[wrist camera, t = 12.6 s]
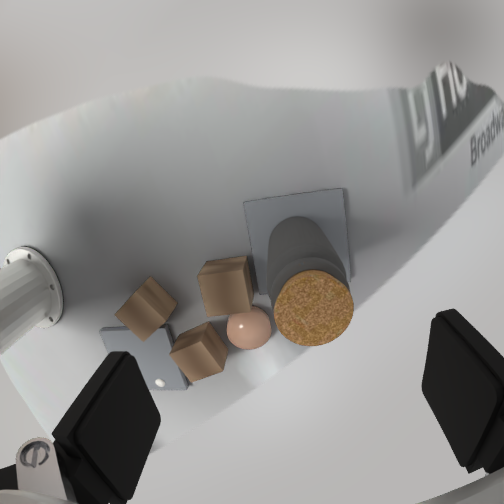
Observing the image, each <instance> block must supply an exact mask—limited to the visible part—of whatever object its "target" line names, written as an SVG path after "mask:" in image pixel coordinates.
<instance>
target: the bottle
mask: <svg viewBox="0 0 504 504" xmlns="http://www.w3.org/2000/svg"><path fill="white" fill-rule="evenodd" d="M266 284H267V291H268V294H269V297H270V299H271V306H272V309H273V312H274V319H275V323H276V325H277V327H278V329H279V331H280V332H281V333H282V334H283V335H284V336H285V337H286V338H287V339H289V340H290V341H292V342H294V343H296V344H299V345H304V346H318V345H323V344H326V343H328V342H331V341H333V340H334V339H335V338H337V337H339V336H340V335H341V334H342V333H343V332H344V331H345V329H346V328H347V327H348V325H349V323H350V321H351V319H352V316H353V300H352V296H351V294H350V290H349V285H348V282H347V278H346V271H345V268H344V265H343V263H342V261H341V259H340V257H339V256H338V254H337V252H336V251H335V249H334V248H333V246H332V245H331V243H330V241H329V240H328V238H327V237H326V235H325V234H324V232H323V231H322V229H321V228H320V227H319V226H318V225H317V224H316V223H315V222H314V221H312V220H310V219H308V218H305V217H297V216H296V217H290V218H287V219H285V220H283V221H281V222H280V223H279V224H278V225H277V226H276V227H275V228H274V229H273V231H272V233H271V235H270V239H269V245H268V258H267V275H266Z"/></svg>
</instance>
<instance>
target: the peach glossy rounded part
mask: <svg viewBox="0 0 504 504" xmlns="http://www.w3.org/2000/svg"><path fill="white" fill-rule="evenodd" d="M227 336H228V338H229V340H230V342H231V343H232V344H234V345H235V346H237V347H239V348H242V349H256V348H259V347H261V346H262V345H264V344H265V343H266V342H267V341H268V340H269V338H270V336H271V325H270V320H269V317H268V315H267V314H266V312H265V311H263V310H262V309H260V308H258V307H255V306H252V308H251V312H247V313H238V314H230V316H229V318H228V321H227Z"/></svg>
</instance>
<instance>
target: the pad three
mask: <svg viewBox="0 0 504 504" xmlns="http://www.w3.org/2000/svg"><path fill="white" fill-rule="evenodd" d="M243 204H244V209H245V215H246V221H247V226H248V232H249V237H250V243H251V249H252V254H253V260H254V266H255V271H256V277H257V283H258V288H259V294H260V295H262V294H268V291H267V284H266V275H267V258H268V245H269V239H270V235H271V233H272V231H273V229H274V228H275V227H276V226H277V225H278V224H279V223H280V222H281V221H283V220H285V219H287V218H290V217H296V216H297V217H305V218H308V219H310V220H312V221H314V222H315V223H316V224H317V225H318V226H319V227H320V228H321V229H322V231H323V232H324V234H325V235H326V237H327V238H328V240H329V241H330V243H331V245H332V246H333V248H334V249H335V251H336V252H337V254H338V256H339V257H340V259H341V261H342V263H343V265H344V268H345V271H346V278H347V282H351V276H350V261H349V248H348V237H347V226H346V216H345V207H344V198H343V190H342V189H341V188H337V189H329V190H321V191H314V192H307V193H299V194H292V195H285V196H279V197H272V198H265V199H259V200H253V201H246V202H244V203H243Z"/></svg>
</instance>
